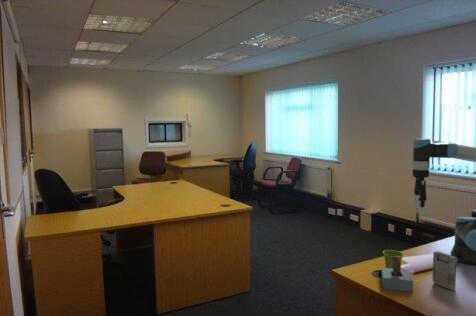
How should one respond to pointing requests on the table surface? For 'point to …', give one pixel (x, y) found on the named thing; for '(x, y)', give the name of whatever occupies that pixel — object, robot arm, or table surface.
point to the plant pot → (390, 257)
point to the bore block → (396, 280)
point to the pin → (396, 265)
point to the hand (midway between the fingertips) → (419, 210)
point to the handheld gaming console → (444, 270)
